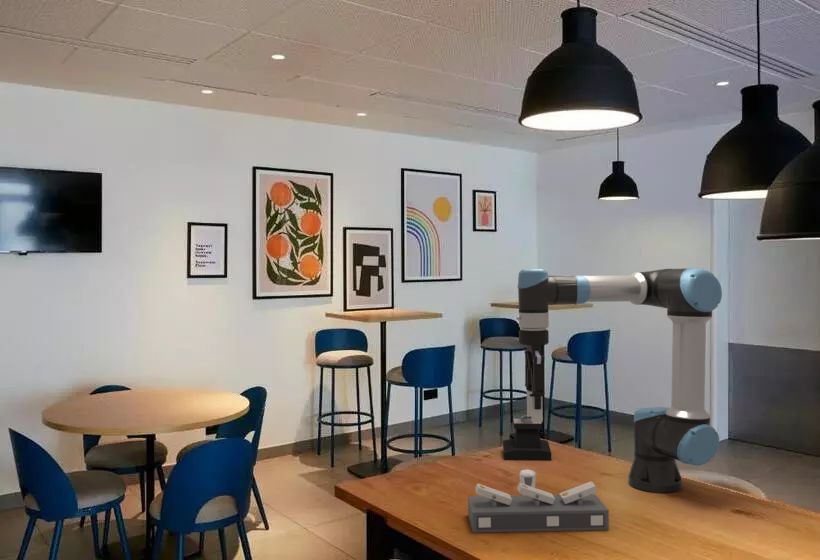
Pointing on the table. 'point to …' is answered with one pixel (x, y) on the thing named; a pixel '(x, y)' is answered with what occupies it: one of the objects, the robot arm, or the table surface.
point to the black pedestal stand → (526, 442)
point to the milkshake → (528, 477)
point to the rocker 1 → (493, 494)
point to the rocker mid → (535, 493)
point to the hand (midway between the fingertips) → (534, 418)
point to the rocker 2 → (578, 492)
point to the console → (537, 514)
